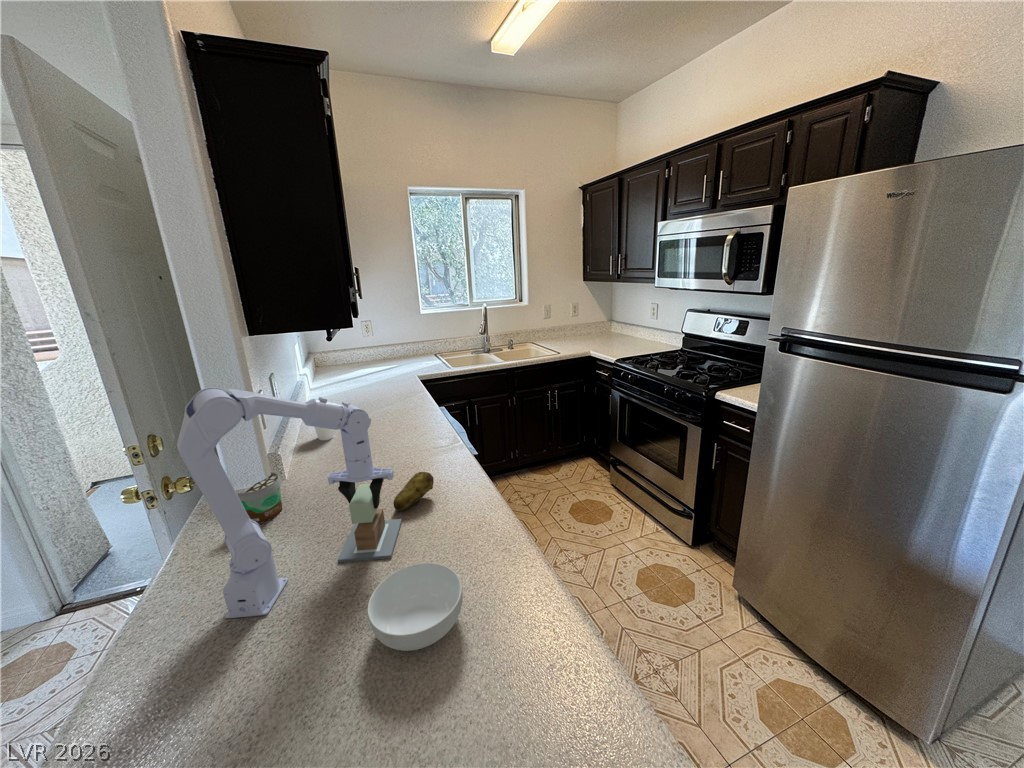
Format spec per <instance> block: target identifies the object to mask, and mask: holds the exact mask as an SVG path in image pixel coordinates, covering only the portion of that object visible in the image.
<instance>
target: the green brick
mask: <svg viewBox="0 0 1024 768" xmlns="http://www.w3.org/2000/svg"><path fill="white" fill-rule="evenodd" d="M370 484H371V483H363V484H359V485H358V487H357V489H356V492H355V494H354V496H353V498H352V500H351V502H350V504H349V503H348V509H349V513H350V519H351V524H352V525H354V524H355V523H368V522H372V521H373V518H374V516H375V513H376V511H377V509H378V508H376V509H374V505H373V497H372V493H371V490H370V487H369V486H370ZM379 504H381V496H380V497H379Z"/></svg>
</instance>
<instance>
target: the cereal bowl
mask: <svg viewBox="0 0 1024 768" xmlns="http://www.w3.org/2000/svg"><path fill="white" fill-rule="evenodd" d="M463 598H464V597H463V586H462V580H461V578H460V577H459V575H458V573H456V572H455V571H454V570H453V569H452V568H450V567H448V566H447V565H445V564H440V563H437V562H420V563H418V562H417V563H415V564H411V565H407V566H404V567H401V568H400V569H398V570H396V571H394V572H392V573H391V574H389V575H388V576H386V577H385V578H384V579H383V580H381V582H380V583H379V584H378V585H377V587H376V588H375V589H374V591H372V594H371V596H370V598H369V601H368V603H367V618H368V622H369V626H370V629H371V630H372V632H373V634H374V635H375V638H377V640H378V641H380V642H381V644H383V645H384V646H386V647H388V648H390V649H392V650H396V651H403V652H405V651H407V652H411V651H417V650H420V649H424V648H427V647H429V646H431V645H433V644H435V643H436V642H438V641H439V640H441V639H443V638H444V636H446V635H447V633H449V632H450V630H451V629H452V628H453V627H454V626H455V623H456V622H457V620H458V619H459V616H460V614H461V610H462V606H463Z"/></svg>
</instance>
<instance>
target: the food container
mask: <svg viewBox="0 0 1024 768" xmlns="http://www.w3.org/2000/svg"><path fill="white" fill-rule="evenodd" d="M282 484H283V480H282V479H281V476H280V475H279V474H278V472H277V473H276V472H275V471H270V475H269V476H267V477H265V479H263V480H260V481H258V482H256V483H254V484H253V485H251V487H250V488H248V489H247V490H246V491H244V492H236V493H237V495H238V497H239V499H240V501H241V503H242V505H243V506H244V508H245V510H246V512H247V514H248V516H249V518H250V519H251V520H253V521H255V522H257V523H258V524H261V523H262V524H263V523H265V522H269V521H271V520H273V519H275V518H276V517H278V516H279V515H281V513H282V511H283V503H282V501H283V500H282V495H281V486H282ZM280 512H281V513H280ZM277 515H278V516H277ZM274 517H275V518H274Z"/></svg>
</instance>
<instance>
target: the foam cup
mask: <svg viewBox="0 0 1024 768" xmlns="http://www.w3.org/2000/svg"><path fill="white" fill-rule="evenodd" d="M314 429H315V433H316V435H317V438H318V440H319V441H329V440H332V439H335V437H336V430H334V429H327V428H320V427H314Z"/></svg>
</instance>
